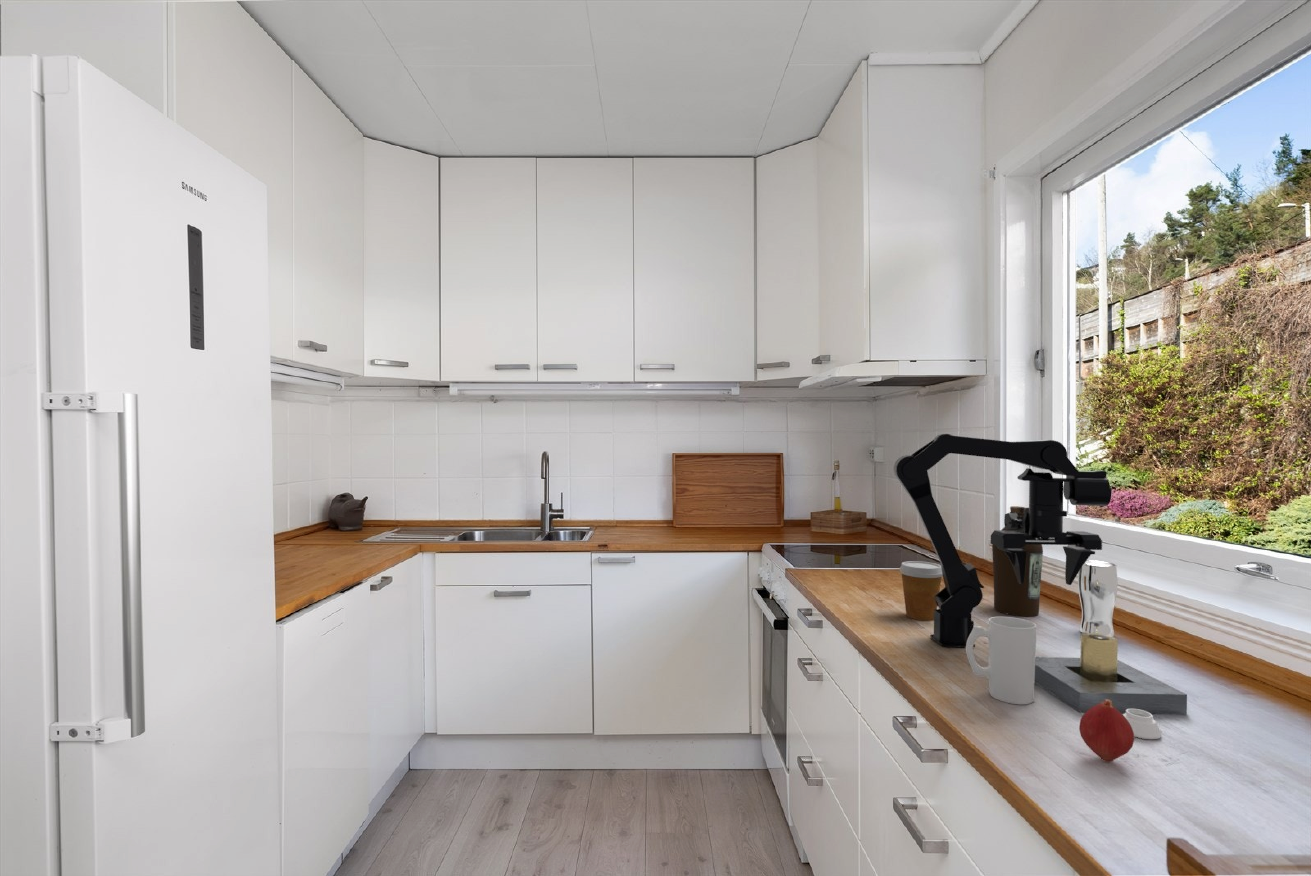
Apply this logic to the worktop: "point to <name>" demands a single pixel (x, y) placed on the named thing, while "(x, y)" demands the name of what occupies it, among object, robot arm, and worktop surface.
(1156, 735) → the white jar
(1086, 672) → the brass bushing
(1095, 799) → the worktop surface
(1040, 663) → the plate
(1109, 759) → the onion
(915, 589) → the disposable coffee cup
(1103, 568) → the beer glass
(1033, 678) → the mug
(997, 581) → the olive oil
